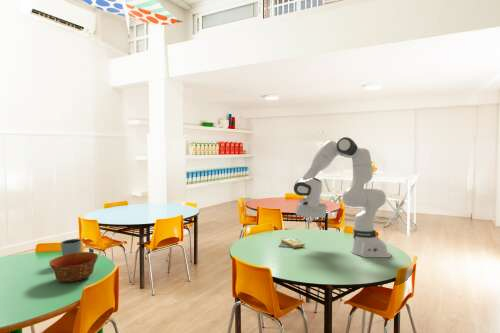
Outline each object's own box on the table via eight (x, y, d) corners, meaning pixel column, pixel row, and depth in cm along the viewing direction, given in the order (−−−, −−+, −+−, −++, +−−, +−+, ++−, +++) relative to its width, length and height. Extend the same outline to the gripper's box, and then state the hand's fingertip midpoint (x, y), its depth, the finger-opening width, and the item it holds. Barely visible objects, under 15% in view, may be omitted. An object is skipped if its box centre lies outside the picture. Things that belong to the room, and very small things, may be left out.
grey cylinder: (85, 261, 185) (85, 240, 185) (68, 266, 177) (67, 244, 176) (75, 258, 190) (74, 238, 190) (57, 263, 182) (56, 242, 181)
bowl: (71, 290, 146) (71, 268, 145) (38, 283, 154) (38, 262, 153) (108, 274, 165) (107, 254, 165) (77, 268, 173) (76, 250, 173)
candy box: (291, 240, 226) (281, 241, 222) (291, 237, 226) (281, 238, 222) (304, 246, 211) (293, 247, 208) (304, 243, 211) (293, 244, 208)
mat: (297, 239, 229) (297, 239, 229) (294, 247, 210) (294, 247, 210) (283, 239, 231) (283, 238, 231) (279, 246, 212) (279, 246, 212)
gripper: (325, 203, 220) (321, 222, 222) (296, 199, 217) (293, 219, 218) (329, 205, 214) (325, 225, 215) (299, 202, 210) (295, 222, 212)
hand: (309, 222), depth 217 cm, fingers closed
